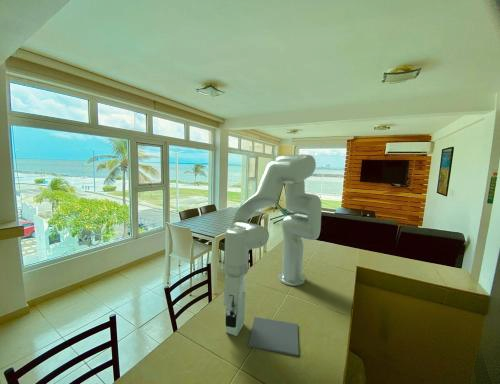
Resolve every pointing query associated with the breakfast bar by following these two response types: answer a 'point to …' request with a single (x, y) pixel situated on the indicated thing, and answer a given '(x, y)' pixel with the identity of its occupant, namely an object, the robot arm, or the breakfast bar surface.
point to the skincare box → (238, 317)
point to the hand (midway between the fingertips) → (234, 315)
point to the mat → (274, 336)
